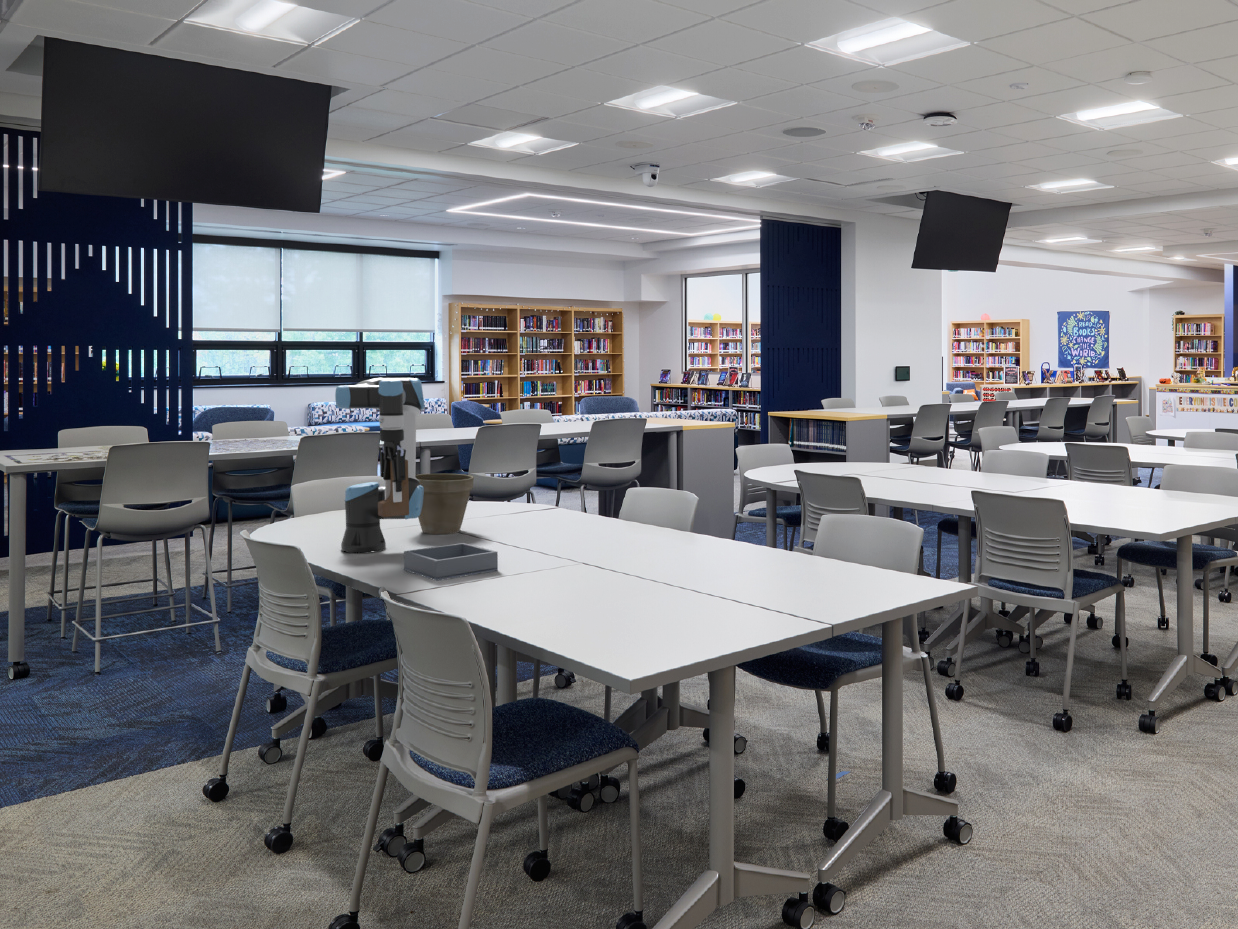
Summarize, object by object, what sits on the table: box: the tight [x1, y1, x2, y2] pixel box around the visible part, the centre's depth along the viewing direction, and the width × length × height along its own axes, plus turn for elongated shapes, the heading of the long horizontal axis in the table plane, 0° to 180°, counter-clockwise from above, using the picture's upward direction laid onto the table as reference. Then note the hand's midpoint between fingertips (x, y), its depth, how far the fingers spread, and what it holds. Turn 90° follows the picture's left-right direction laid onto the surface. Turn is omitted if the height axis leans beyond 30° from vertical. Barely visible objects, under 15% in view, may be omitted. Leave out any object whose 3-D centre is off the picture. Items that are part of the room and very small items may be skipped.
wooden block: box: [378, 459, 409, 517], centre depth 307 cm, size 9×4×18 cm, turn 125°
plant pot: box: [415, 473, 475, 535], centre depth 372 cm, size 25×25×22 cm
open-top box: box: [403, 542, 499, 581], centre depth 302 cm, size 20×22×6 cm
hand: (393, 500), depth 307 cm, fingers closed on wooden block, 5 cm apart
